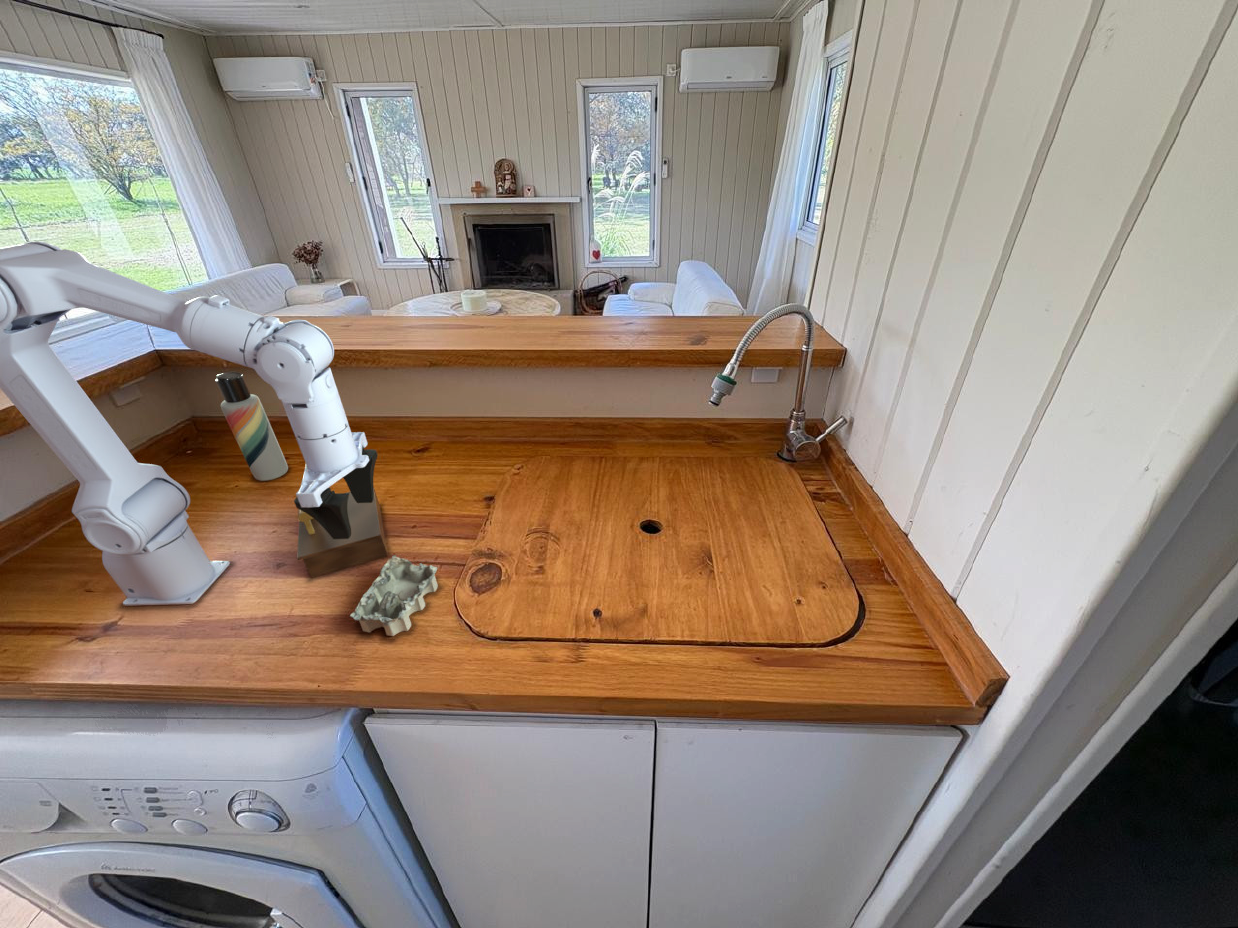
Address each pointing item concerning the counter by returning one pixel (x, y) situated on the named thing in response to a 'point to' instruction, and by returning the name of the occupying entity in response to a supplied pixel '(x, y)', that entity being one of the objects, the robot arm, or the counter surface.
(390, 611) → the egg carton
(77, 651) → the counter surface
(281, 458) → the lotion bottle
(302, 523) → the lid
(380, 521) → the compartment
